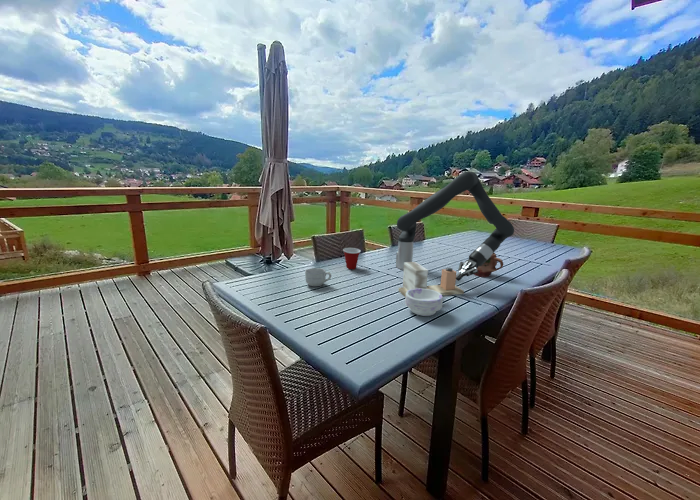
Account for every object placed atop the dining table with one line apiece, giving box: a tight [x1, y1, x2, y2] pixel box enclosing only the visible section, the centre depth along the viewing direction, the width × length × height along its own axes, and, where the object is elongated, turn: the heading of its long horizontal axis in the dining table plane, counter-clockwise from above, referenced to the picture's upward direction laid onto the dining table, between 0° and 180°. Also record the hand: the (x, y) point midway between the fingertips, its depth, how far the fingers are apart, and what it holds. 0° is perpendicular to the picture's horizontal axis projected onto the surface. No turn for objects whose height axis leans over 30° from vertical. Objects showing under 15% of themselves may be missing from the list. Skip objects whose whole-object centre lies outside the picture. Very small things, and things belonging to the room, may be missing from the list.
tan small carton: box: [440, 267, 457, 290], centre depth 147 cm, size 5×5×10 cm
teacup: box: [304, 267, 332, 287], centre depth 154 cm, size 14×11×8 cm
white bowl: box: [404, 288, 444, 317], centre depth 125 cm, size 15×15×8 cm
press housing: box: [398, 261, 465, 298], centre depth 146 cm, size 30×14×14 cm, turn 102°
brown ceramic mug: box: [473, 252, 504, 278], centre depth 172 cm, size 20×12×14 cm, turn 40°
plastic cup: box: [342, 247, 361, 270], centre depth 183 cm, size 11×11×12 cm
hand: (456, 279), depth 149 cm, fingers closed
